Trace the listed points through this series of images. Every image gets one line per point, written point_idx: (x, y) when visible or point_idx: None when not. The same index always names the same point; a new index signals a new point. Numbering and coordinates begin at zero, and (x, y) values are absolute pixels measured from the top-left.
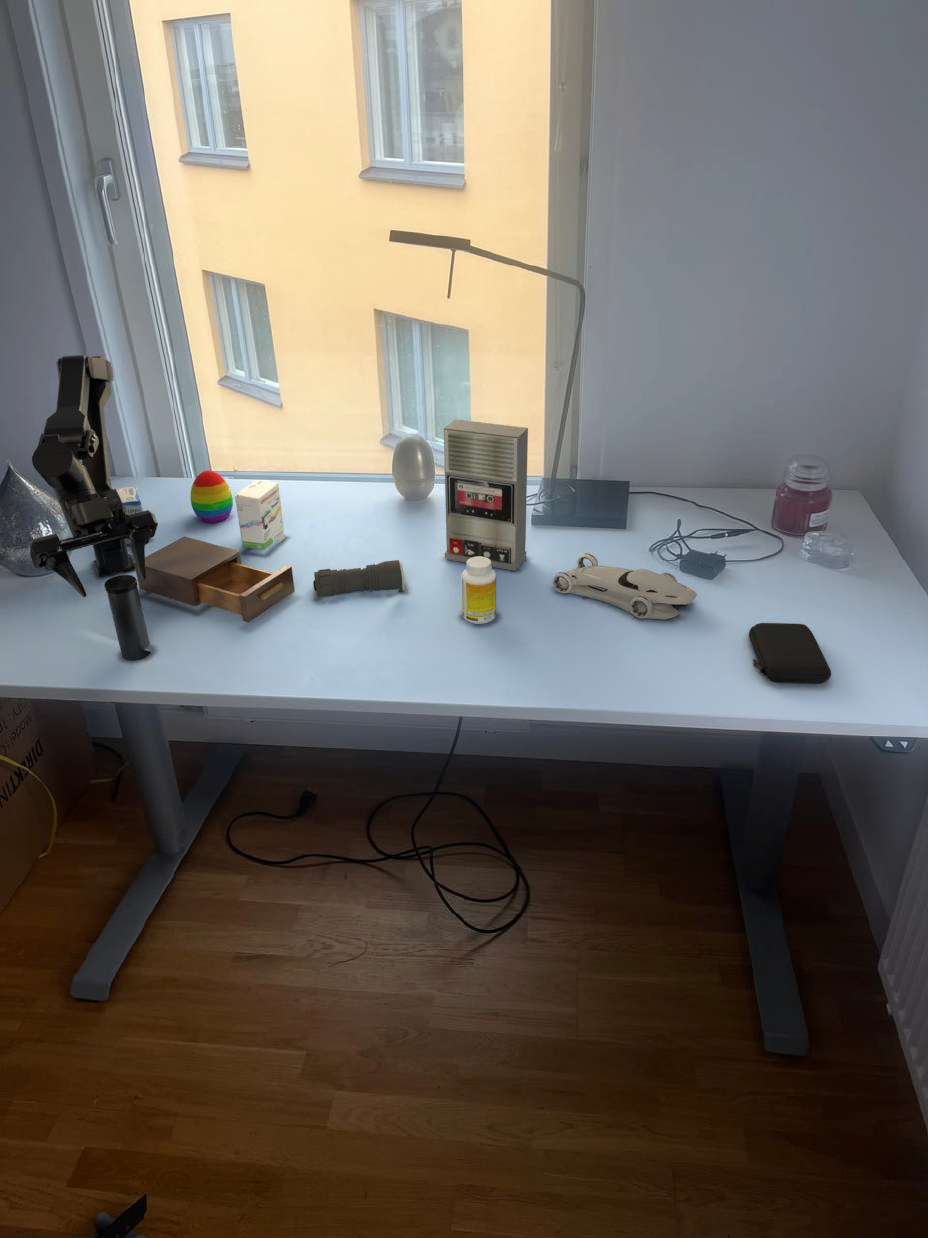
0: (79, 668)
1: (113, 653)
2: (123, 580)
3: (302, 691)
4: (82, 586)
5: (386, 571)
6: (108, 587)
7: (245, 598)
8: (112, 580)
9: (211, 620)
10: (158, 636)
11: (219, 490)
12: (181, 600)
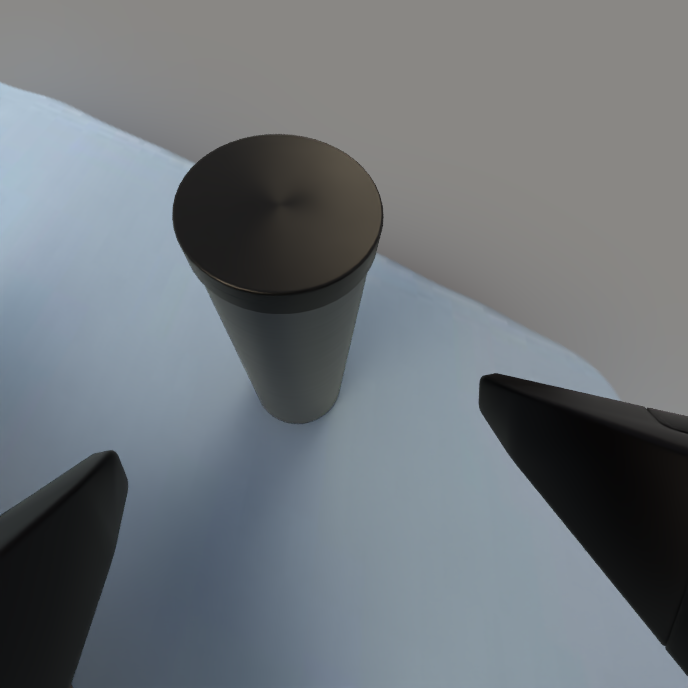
0: (453, 373)
1: (361, 413)
2: (258, 208)
3: (19, 98)
4: (518, 387)
5: None
6: (361, 171)
7: None
8: (327, 240)
9: (11, 494)
10: (215, 459)
11: None
12: None
